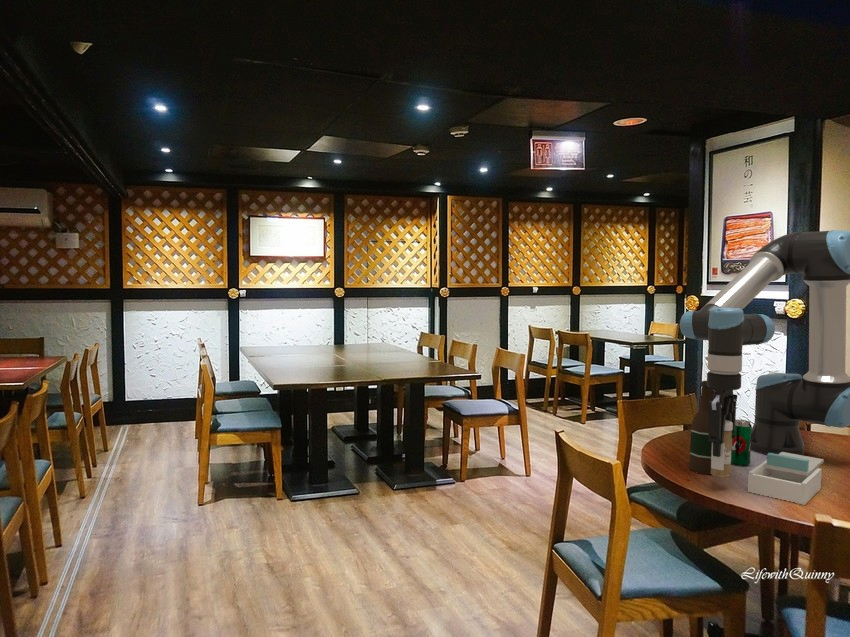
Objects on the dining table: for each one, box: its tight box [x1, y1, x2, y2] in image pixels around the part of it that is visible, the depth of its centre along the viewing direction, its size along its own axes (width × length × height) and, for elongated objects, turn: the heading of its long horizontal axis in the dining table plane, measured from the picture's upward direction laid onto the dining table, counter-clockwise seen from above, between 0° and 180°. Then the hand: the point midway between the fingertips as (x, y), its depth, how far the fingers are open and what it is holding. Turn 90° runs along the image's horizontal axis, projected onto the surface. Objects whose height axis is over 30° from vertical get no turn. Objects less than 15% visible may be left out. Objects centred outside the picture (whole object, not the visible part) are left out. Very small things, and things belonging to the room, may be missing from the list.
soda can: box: [731, 418, 753, 467], centre depth 175 cm, size 5×5×12 cm
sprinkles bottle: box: [710, 420, 733, 478], centre depth 154 cm, size 5×5×13 cm
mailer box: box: [747, 459, 823, 506], centre depth 153 cm, size 16×12×5 cm
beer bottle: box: [689, 380, 714, 476], centre depth 168 cm, size 8×8×24 cm
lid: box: [764, 452, 825, 476], centre depth 159 cm, size 16×10×3 cm, turn 137°
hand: (720, 466), depth 154 cm, fingers closed on sprinkles bottle, 4 cm apart
